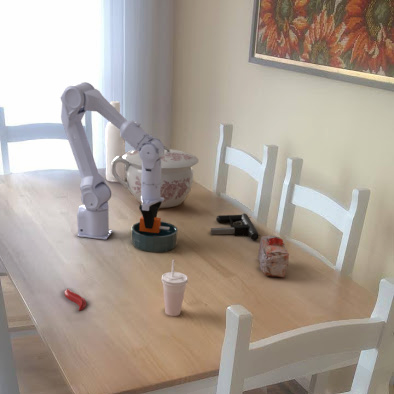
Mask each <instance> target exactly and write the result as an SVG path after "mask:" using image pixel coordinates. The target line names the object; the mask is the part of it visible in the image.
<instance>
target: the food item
mask: <svg viewBox="0 0 394 394" xmlns="http://www.w3.org/2000/svg"><path fill="white" fill-rule="evenodd" d="M258 247H259V248H258V252H257V253H258V254H257V260H258V262H259V270H260V271H262V272H263V274H264V276H267V277H273V278H285V276H286V272H287V268H288V266H289V260H290V259H289V258H290V253H289V252H288V250H287V248H286V245H285V242H284V240H283V239H282V237H281V238H280V236H277V235H272V234H271V235H261V237H260V242H259V246H258Z"/></svg>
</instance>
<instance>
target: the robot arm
mask: <svg viewBox="0 0 394 394" xmlns="http://www.w3.org/2000/svg"><path fill="white" fill-rule="evenodd" d="M60 101H61V112H60V119H61V123H62V127H63V129H64V131H65V134H66V139H67V140H68V143H69V146H70V149H71V152H72V155H73V158H74V161H75V164H76V167H77V169H78V172H79V174H80V178H81V181H80V185H79V189H80V192H81V195H80V196H81V197H80V199H81V203H82V205H79V207H78V209H77V214H76V220H77V221H76V222H77V235H76V236H77V237H80V238H88V239H95V240H96V239H97V240H105V241H106V240H107V239H108V238H109V237H110V236H111V234H112V233H114V232H113V229H110V222H109V221H110V220H109V219H110V218H109V215H110V213H109V201H110V199H111V198H112V190H111V187H110V186H109V185H108V184H107V182H106V179H105V177H104V176H103V175H101V174H100V173H99V170H98V167H97V163H96V161H95V158H94V155H93V152H92V149H91V146H90V142H89V141H88V137H87V134H86V131H85V127H84V124H83V122H82V120H83V118H84V116H85V114H86V112H87V111H88V112H97V113H98V114H99V115H100V116H102V117H103V118H104V119H106V120H107V121H108V123H109V122H111V123H112V124H113V125H114V126H116V127H117V128H118V129H119V130H120V135H121V137H122V138H123V139H124V140H125V143H127V144H129V146H131V147H132V148H133V150H136V151H138V152H139V156H140V158H141V160H142V184H141V201H142V204H141V203H140V204H139V205H138V209H139V211H140V213H141V216H143V219H144V224H145V228H149V229H152V227H153V224H154V218H155V217H157V216H158V212H159V209H160V208H159V207H160V205H161V203H162V201H164V197H160V189H161V157H162V155H163V153H164V146H165V145H164V144H163V142H162V141H161V139H160V138H157V137H154V136H153V135H152V134H149V133H148V132H147V131H145V129H143V128H142V127H141V123H140V122H139V121H134V119H133V120H127V119H126V118H125V117H124V116H123V114H122V113H121V112H120V113H119V112H118V111H117V110H116V109H115V108H114V107H113V106H112V105H111V104H110V102H109V100H107V98H106V97H104V95H103V94H102V93H101V91H100V90H99V89H98V88H95V86H93V85H92V84H91V83H89V82H81V83H78V84H75V85H68V86H67V87H65V89H64V91H63V92H62V94H61V96H60ZM159 158H160V159H159ZM157 218H158V217H157Z"/></svg>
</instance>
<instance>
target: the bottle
mask: <svg viewBox="0 0 394 394" xmlns="http://www.w3.org/2000/svg"><path fill="white" fill-rule="evenodd" d="M109 103H110V104H111V105H112V106H113V107H114V108H115V109H116V110H117V111H118V112H119V113H120V114H121V102H120V101H117V100H112V101H111V100H110V102H109ZM104 131H105V132H104V133H105V135H104V136H105V180H106V181H108V182H111V183H119V182H118V181H117V180H116V178H115V177H114V176H113V174H112V171H111V167H112V162H113V160H114V159H115V158H116V157H118V156H121V157H122V158H123V155H124V154H125V153H126V141H125V140H124V139H123V138H122V137H121V135H120V130H119V129H118V128H117V127H116V126H114V125H113V124H112V123H111V122H109V121H108V122H107V124H106V126H105V130H104ZM116 173H117V175H118V176H119V177H120V178H121V179H122V180H123V181H125V182H126V165H125V164H124V163H122V162H118V163H116Z"/></svg>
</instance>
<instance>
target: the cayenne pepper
mask: <svg viewBox="0 0 394 394" xmlns="http://www.w3.org/2000/svg"><path fill="white" fill-rule="evenodd" d="M64 296H65V297H66V299H68V300H69V301H71V302H73V303H75V304H76V305H77V306H78V307H79V308H78V311H79V312H80V311H83V310H84V309H85V308H86V306H87V300H86V298H84V297H82V296H80V295H79V294H78V293H75V292H73V291H72V290H70V289H69V288H67V289H66V290H64Z"/></svg>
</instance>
